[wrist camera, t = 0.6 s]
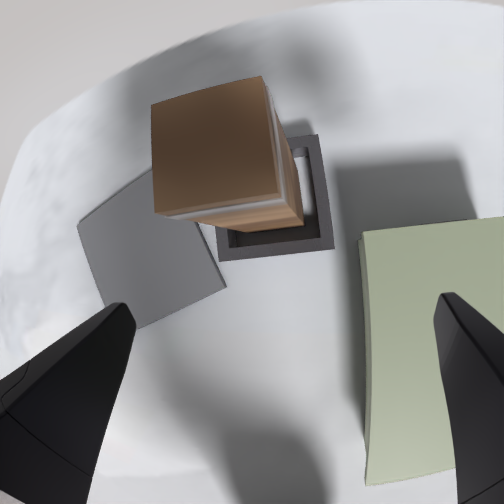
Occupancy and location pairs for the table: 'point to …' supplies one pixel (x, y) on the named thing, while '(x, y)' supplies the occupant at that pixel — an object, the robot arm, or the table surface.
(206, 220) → the banded wooden block
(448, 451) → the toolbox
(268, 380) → the table surface
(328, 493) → the table surface
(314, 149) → the dark grey square frame
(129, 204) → the mat
